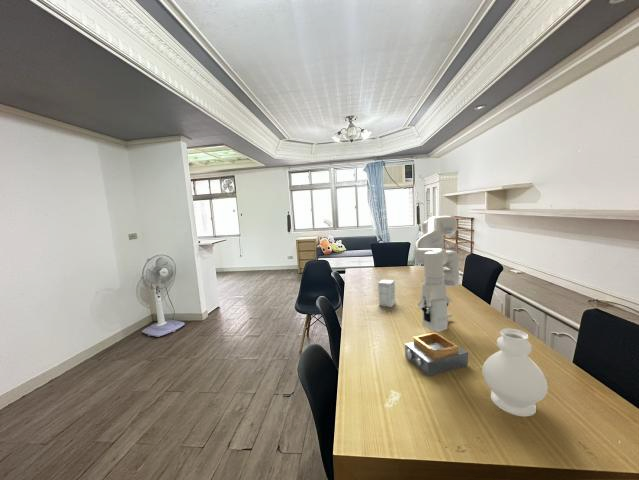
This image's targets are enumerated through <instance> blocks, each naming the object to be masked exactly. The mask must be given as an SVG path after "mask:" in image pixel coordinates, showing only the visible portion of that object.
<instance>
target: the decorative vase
mask: <svg viewBox="0 0 639 480" xmlns="http://www.w3.org/2000/svg"><path fill="white" fill-rule="evenodd" d="M499 333H500V336H499V337H498V338H497V340H496V344H497V346H498V348H499V349H500V350H498V351H496V352H494V353H492V354H491V355H490V356H489V357H488V358H487V359H486V360H485V362H484V363H483V365H482V371H481V372H482V378H483V381H484V382H485V384H486V385H487V387H489V389H490V390H491V392H490V399H491V401H492V402H493V404H494V405H495V406H497V408H499V409H500V410H502V411H504V412H505V413H508V414H510V415H513V416H518V417H531V416H534V415H535V414H536V412H537V405H536V403H538V402H540V401H542V400H544V398H545V397H546V396H547V393H548V381H547V378H546V377H545V375H544V373H543V371H542V370H541V368H539V366H538V365H537V364H536V363H535V361H533V360H532V359H531V358H530V357H529V356H528V355H529V354H531V353H532V351H533V347H532V345H531V343H530V342H529V341H528V340H529V335H528V333H526V332H524V331H523V330H519V329H516V328H503V329H501V330H500V332H499Z"/></svg>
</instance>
